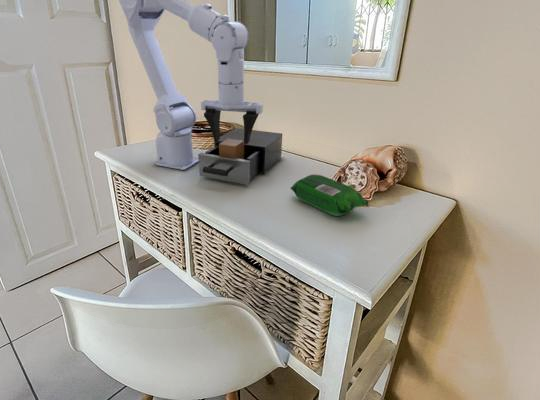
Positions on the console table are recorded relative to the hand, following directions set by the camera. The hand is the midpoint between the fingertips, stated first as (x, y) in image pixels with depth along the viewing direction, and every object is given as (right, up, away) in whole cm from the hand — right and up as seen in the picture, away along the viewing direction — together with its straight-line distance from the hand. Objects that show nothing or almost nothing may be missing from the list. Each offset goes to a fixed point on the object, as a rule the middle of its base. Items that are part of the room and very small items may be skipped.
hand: (231, 141), depth 81 cm
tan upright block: (0, -6, +3) cm, 7 cm away
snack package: (+20, -16, -11) cm, 27 cm away
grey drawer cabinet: (+5, -4, +13) cm, 14 cm away
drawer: (0, -8, +3) cm, 8 cm away
